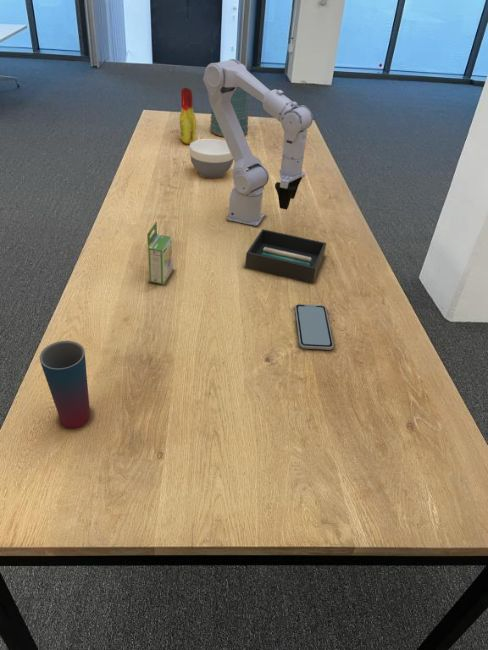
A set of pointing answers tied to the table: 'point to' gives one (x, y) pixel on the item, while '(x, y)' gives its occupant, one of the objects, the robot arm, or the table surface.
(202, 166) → the bowl
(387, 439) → the table surface
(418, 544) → the table surface
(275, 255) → the straws
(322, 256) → the bin
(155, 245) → the ink box
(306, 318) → the smartphone
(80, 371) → the cup
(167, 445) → the table surface
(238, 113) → the vase
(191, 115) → the bottle
